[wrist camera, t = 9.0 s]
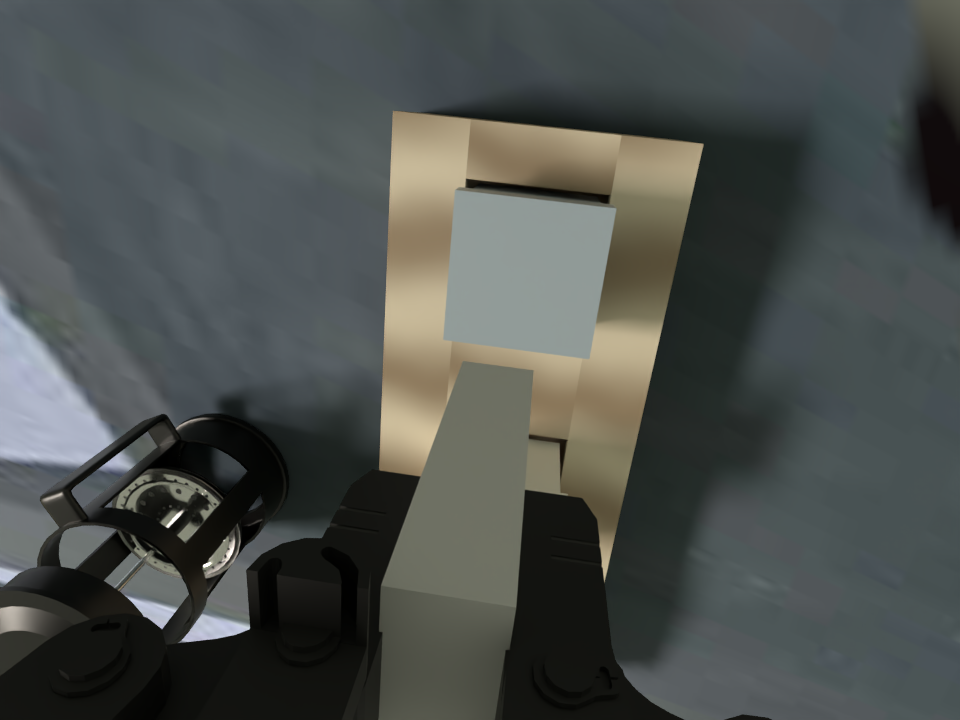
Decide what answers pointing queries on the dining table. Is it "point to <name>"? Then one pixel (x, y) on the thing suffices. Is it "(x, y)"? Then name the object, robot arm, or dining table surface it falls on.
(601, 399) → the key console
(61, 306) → the dining table surface
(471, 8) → the dining table surface
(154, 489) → the french press
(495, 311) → the slate key
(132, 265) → the dining table surface
